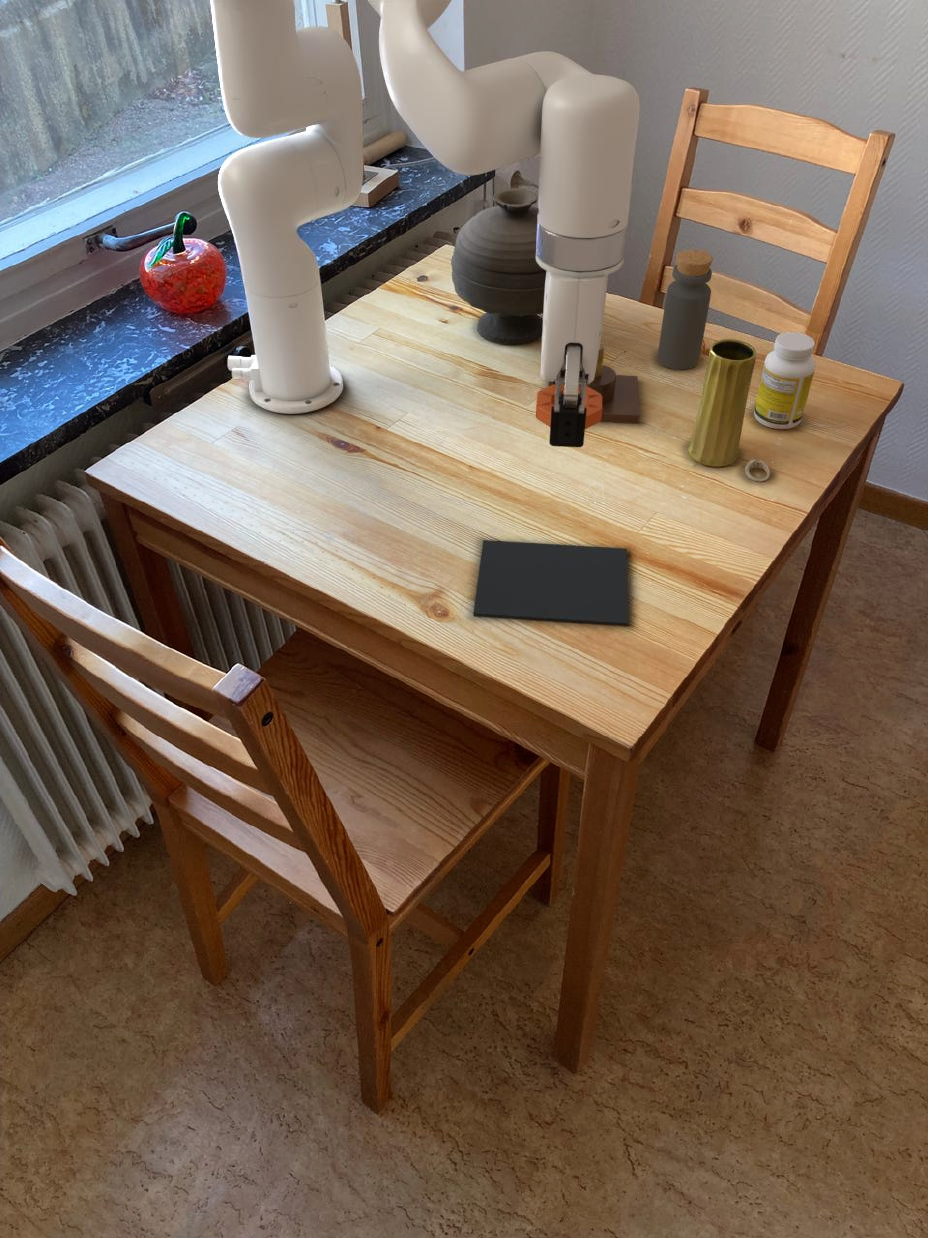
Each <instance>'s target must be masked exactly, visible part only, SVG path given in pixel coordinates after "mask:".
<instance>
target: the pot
mask: <svg viewBox="0 0 928 1238" xmlns="http://www.w3.org/2000/svg"><path fill="white" fill-rule="evenodd" d="M492 201H493V203H494V204H495V206H492V207H487V208H485V209H481V210H480V211H478V212H477V213H476V214H475V215H473V216H472V217H471V218H469V220H468V221H466V223H465V224H464V225H463V226H462V227H461V229H460V231H459V232H458V233H457V236H456V240H455V242H454V249H453V255H452V256H451V259H450V265H451V280H452V283H453V288H454V291H455V293H456V294H457V296H458V297H459V298H460V299H461V300H462V301H464V302H466V303H467V304H469V306H471V308H475V309H478V310H482V311H483V312H485V313H483V314H482V315H481V316H480V317H479V319H478V321H477V325H476V332H477V333H478V335H479V336H480V337H481V338H483V339H485V340H486V341H490V342H492V343H495V344H500V345H506V346H509V345H510V346H519V345H520V346H521V345H528V344H529V343H533V342H534V341H536V340H538V339H539V338H542V330H543V317H541V316H542V315H543V309H544V292H545V281H546V272H547V271H546V270H544V269H543V268H542V267H540V266H539V264H538V263H537V262H536V241H537V214H538V207H536V206H533V205H534V204H536V203H538V194H537V193H535V192H533V191H530V190H528V189H526V188H521V187H512V188H511V187H508V188H503V189H500V190H497V191H496V192H495V193H494V194H493V197H492Z"/></svg>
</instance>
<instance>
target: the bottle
mask: <svg viewBox="0 0 928 1238" xmlns="http://www.w3.org/2000/svg"><path fill="white" fill-rule="evenodd" d="M713 261H714V258H713V255H711V254H710V253H709V252H707V251H704V250H700V249H684V250H681V251H679V252H678V253H677V254H676V264H675V265H674V266H673V269H672V274H671V275H672V278H673V281H671V282H670V283H669V284H668V286H667V290H666V296H665V302H664V309H663V314H662V315H663V316H662V323H661V329H660V334H659V335H660V336H659V341H658V342H659V343H658V352H657V361H658V362H659V363H660V364H661V365H662V366H664V367H666V368H669V369H672V370H681V371H683V370H690V369H693V368H695V367H696V366H697V365H698V364H699V363H700V357H701V354H702V348H703V347H702V346H703V341H704V336H705V330H706V325H707V319H708V313H709V307H710V302H711V297H712V288H711V287H710V286H709V285H708V283H709V282H710V281H711V280H712V274H713V270H712V269H711V265H712V263H713Z"/></svg>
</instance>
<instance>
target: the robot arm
mask: <svg viewBox="0 0 928 1238" xmlns="http://www.w3.org/2000/svg"><path fill="white" fill-rule="evenodd" d="M209 1H210V7H211V17H212V25H213V26H212V27H213V34H214V42H215V51H216V52H215V53H216V60H217V67H218V77H219V84H220V92H221V97H222V104H223V107H224V111H225V115H226V117H227V120H228V122H229V124H230V125H231V127H232V128H233V129H234V130H235V131H236V132H237V133H238V134H240V135H241V136H244V137H247V138H249V139H250V138H251V139H263V138H264V139H265V138H271V137H275V136H276V137H277V136H280V135H285V134H288V133H291V132H295V131H296V132H297V131H299V130H303V129H306V130H305V131H301V132H297V133H294V134H290V135H287V136H283V137H278V138H275V139H270V140H267V141H263V142H260V143H256V144H252V145H250V146H247V147H244V148H242V149H240V150H238V151H236V152H235V153H233V154H231V155H230V156H229V157H228V158H227V159H226V160H225V161H224V162H223V164H222V166H221V168H220V170H219V172H218V173H219V174H218V178H217V179H218V181H217V185H218V192H219V196H220V197H219V198H220V199H221V203H222V206H223V209H224V212H225V215H226V217H227V220H228V223H229V226H230V229H231V232H232V235H233V239H234V243H235V246H236V251H237V256H238V261H239V265H240V272H241V278H242V283H243V288H244V293H245V300H246V305H247V312H248V318H249V323H250V330H251V336H252V342H253V349H254V354H251V356H249V357H248V356H247V357H246V356H239V355H238V356H237V355H228V357H227V361H226V362H227V369H228V370H229V371H231V377H232V379H236V380H237V379H239V380H243V379H248V380H249V385H248V390H249V396H250V399H251V400H252V401H253V402H254V404H255V405H257V406H258V407H260V408H262V409H264V410H265V411H269V412H273V413H279V414H287V415H293V414H295V415H296V414H304V413H310V412H314V411H317V410H320V409H322V408H325V407H327V406H329V405H330V404H332V403H334V402H335V401H336V400H337V399H338V398H339V397H340V396H341V394H342V392H343V390H344V380H343V375H342V374H341V372H340V371H339V370H338V369H337V368H336V367H334V366H333V365H331V364H330V356H329V355H330V354H329V347H328V346H329V345H328V338H327V329H326V321H325V320H326V319H325V311H324V302H323V292H322V284H321V283H322V282H321V275H320V266H319V263H318V259H317V257H316V254H315V252H314V251H313V249H312V248H311V247H310V246H309V244H307V242H305V241H304V240H303V239H302V238H301V237H300V236H299V233H298V229H299V228H300V227H301V226H303V225H305V224H308V223H310V222H313V221H315V220H318V219H321V218H325V217H327V216H330V215H333V214H336V213H338V212H341V211H344V210H346V209H348V208H350V207H351V206H353V205H354V204H355V203H356V201H357V200H358V199H359V196H360V194H361V192H362V187H363V182H364V137H363V136H364V133H363V131H364V129H363V127H364V125H363V123H364V122H363V90H362V89H363V88H362V80H361V74H360V69H359V65H358V63H357V60H356V57H355V55H354V53H353V51H352V48H351V47H350V45H349V43H348V42H347V40H346V39H345V38H344V37H343V35H341V34H340V33H339V32H337V31H336V30H335V29H333V28H330V27H328V26H322V25H318V26H317V25H314V26H313V25H312V26H307V27H306V26H305V27H302V28H298V29H297V27H296V7H295V0H209ZM367 2H368V4H369V5H370V6H371V7H372V8H373V10H374V11H375V12H376V13H377V14H378V15H379V18H380V21H379V30H378V53H379V59H380V66H381V70H382V75H383V78H384V81H385V86H386V89H387V91H388V95H389V98H390V100H391V102H392V104H393V106H394V108H395V110H396V111H397V113H398V114H399V116H400V117H401V118H402V120H403V121H404V123H405V124H406V125H407V126H408V127H409V129H410V130H411V131H412V133H413V134H414V135H415V137H416V138H417V139H418V141H419V142H420V143H421V144H422V145H423V146H424V148H425V149H426V151H428V152H429V153H430V154H431V156H433V158H435V160H437V161H438V162H439V163H440V164H441V165H442V166H444V167H445V168H447V169H448V170H450V171H452V172H453V173H456V174H458V175H462V176H463V175H464V176H478V175H482V174H485V173H489V172H492V171H495V170H499V169H500V168H504V167H506V166H509V165H513V164H515V163H518V162H521V161H524V160H529V159H535V158H539V169H538V171H539V172H538V191H537V192H538V194H537V208H538V214H537V241H536V262H537V263H538V264H539V266H540V267H542V268H543V269H544V270H546V271H547V272H546V281H545V292H544V309H543V314H542V320H543V330H542V336H541V349H540V350H541V351H540V352H541V353H540V373H539V375H540V376H539V377H540V379H541V381H542V382H543V383H545V384H548V383H549V382H553V384H556V389H555V405H554V406H552V408H551V425H550V427H549V442H548V443H549V446H551V447H560V448H561V447H563V448H582V447H583V446H584V442H585V433H586V431H585V430H586V429H585V422H586V411H587V408H584V407H585V394H586V384H590V383H591V382H592V381H593V380H594V377H595V372H596V366H597V360H598V354H599V348H600V344H601V340H602V334H603V326H604V317H605V309H606V300H607V290H608V281H609V275H610V274H613V273H615V272H616V271H618V270H620V269H621V268H622V266H623V265H624V262H625V254H626V253H625V252H626V244H627V243H626V242H627V234H628V225H629V222H628V221H629V217H630V216H629V215H630V205H631V196H632V190H633V189H632V188H633V180H634V179H633V178H634V177H633V176H634V171H635V170H634V168H635V160H636V159H635V158H636V149H637V142H638V141H637V140H638V131H639V123H640V113H641V112H640V110H641V104H640V97H639V94H638V92H637V90H636V89H635V87H634V85H632V84H631V83H629V82H628V81H626V80H624V79H621V78H619V77H615V76H611V75H606V74H605V75H604V74H594V73H593V72H590V71H589V70H588V69H586V68H584V67H583V66H581V65H580V64H579V63H577V62H575V61H573V60H572V59H570V58H569V57H567V56H565V55H563V54H561V53H558V52H556V51H545V50H544V51H536V52H531V53H527V54H523V55H520V56H516V57H513V58H507V59H502V60H499V61H495V62H492V63H488V64H484V65H480V66H477V67H476V66H475V67H473V68H469V69H466V70H463V71H462V70H460V69H459V68H458V67H457V65H455V64H454V63H453V62H452V61H451V59H450V58H449V57H448V56H447V55H446V53H445V52H444V51H443V49H441V47H440V46H439V45H438V44H437V42H436V40H435V39H434V37H433V36H432V34H431V33H430V31H429V29H430V27H432V26H433V25H434V24H435V23H436V21H438V19H439V18H440V17H441V16H442V15H443V14H444V12H445V11H446V10H447V8H448V7H449V5H450V4H451V2H452V0H367ZM561 384H562V385H565V387H564V394H561ZM579 385H580V394H578V387H579Z"/></svg>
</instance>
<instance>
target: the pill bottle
mask: <svg viewBox="0 0 928 1238" xmlns="http://www.w3.org/2000/svg"><path fill="white" fill-rule="evenodd" d="M815 345H816V342H815V340H814V338H812V337H811V336H810V335H808V334H805V333H802V332H797V331H787V332H783V333H780V334H778V335H777V336H776V338H775V341H774V345H773V350H771V351H770V352H769V353H768V354H767V355H766V356H765V359H764V363H763V367H762V371H761V377H760V381H759V385H758V390H757V395H756V400H755V404H754V410H753V416H754V419H755V420H756V421H757V422H758V423H760V424H761V425H762V426H764V427H767V428H770V429H774V430H789V429H792V428H795V427H797V426H798V425H800V423H801V422H802V420H803V417H804V413H805V409H806V405H807V403H808V402H807V401H808V397H809V394H810V390H811V385H812V381H813V379H814V374H815V370H816V361H815V359H814V358H813V354H814V351H815Z"/></svg>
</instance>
